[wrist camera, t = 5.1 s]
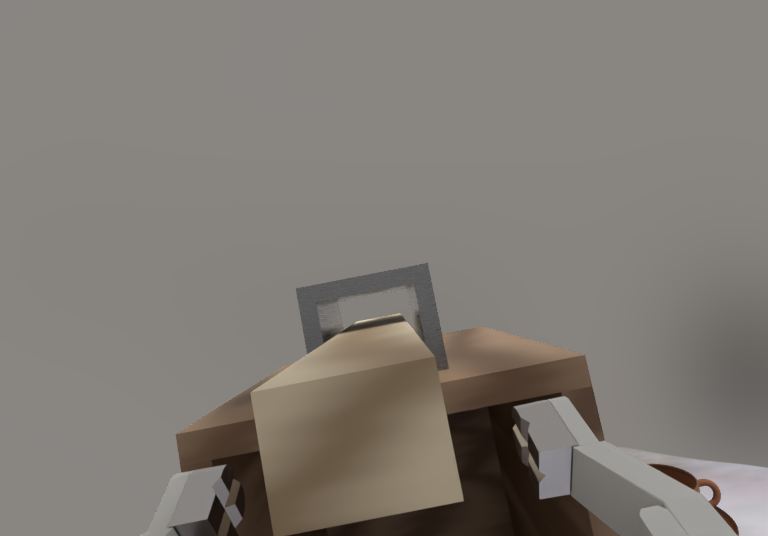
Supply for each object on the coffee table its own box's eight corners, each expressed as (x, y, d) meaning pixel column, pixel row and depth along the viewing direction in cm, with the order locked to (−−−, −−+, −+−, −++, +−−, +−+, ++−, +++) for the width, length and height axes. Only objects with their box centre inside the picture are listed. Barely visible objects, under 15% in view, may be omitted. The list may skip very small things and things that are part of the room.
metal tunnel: (430, 347, 32) (416, 274, 33) (448, 368, 22) (427, 263, 23) (337, 365, 32) (324, 292, 33) (314, 394, 22) (295, 288, 23)
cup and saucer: (659, 496, 50) (647, 446, 51) (773, 547, 39) (757, 482, 39) (583, 529, 47) (571, 476, 47) (684, 596, 35) (667, 524, 36)
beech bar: (406, 346, 36) (400, 313, 36) (464, 501, 8) (434, 356, 9) (362, 354, 36) (356, 321, 36) (274, 538, 8) (250, 392, 9)
